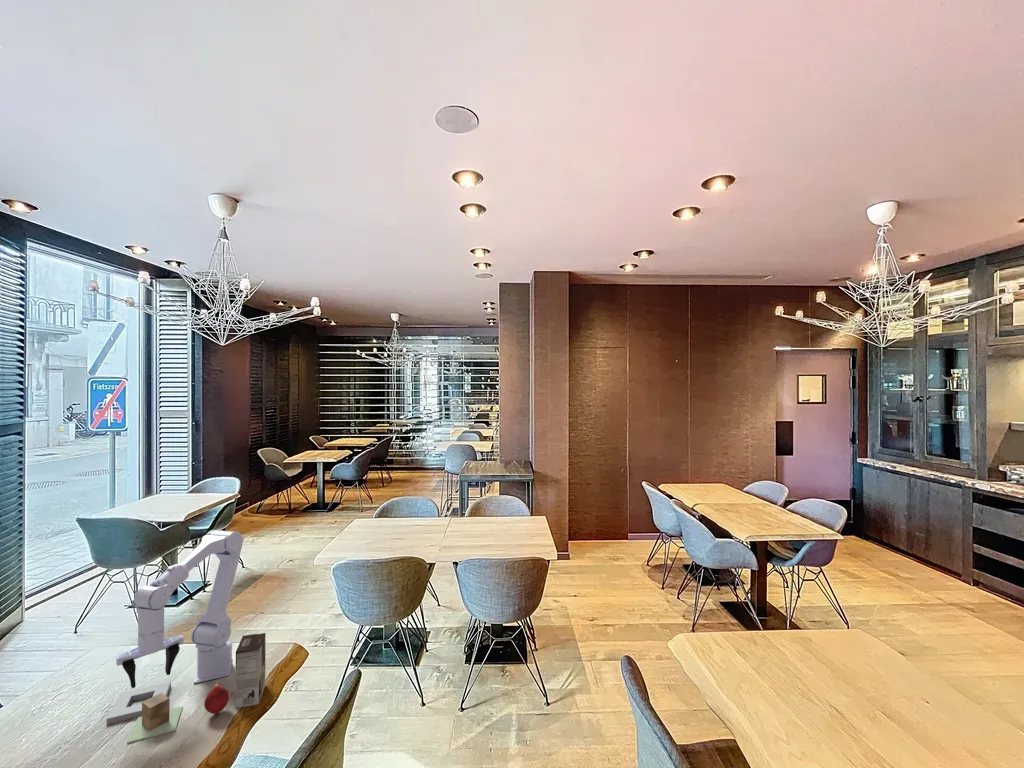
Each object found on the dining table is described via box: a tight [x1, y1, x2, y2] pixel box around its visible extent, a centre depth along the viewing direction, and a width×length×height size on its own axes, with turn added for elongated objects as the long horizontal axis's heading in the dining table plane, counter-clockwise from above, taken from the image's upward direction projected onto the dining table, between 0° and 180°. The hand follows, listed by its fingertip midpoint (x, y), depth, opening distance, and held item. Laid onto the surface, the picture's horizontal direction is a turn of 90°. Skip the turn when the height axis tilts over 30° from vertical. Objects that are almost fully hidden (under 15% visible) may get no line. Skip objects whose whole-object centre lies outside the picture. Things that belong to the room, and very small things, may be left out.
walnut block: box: [141, 693, 171, 731], centre depth 125 cm, size 4×4×6 cm
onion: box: [203, 683, 230, 715], centre depth 129 cm, size 6×6×8 cm
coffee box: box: [234, 632, 267, 709], centre depth 136 cm, size 9×6×16 cm
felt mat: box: [126, 706, 183, 744], centre depth 124 cm, size 10×10×1 cm
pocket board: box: [106, 681, 172, 725], centre depth 132 cm, size 12×12×2 cm
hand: (150, 679), depth 128 cm, fingers open, 7 cm apart
